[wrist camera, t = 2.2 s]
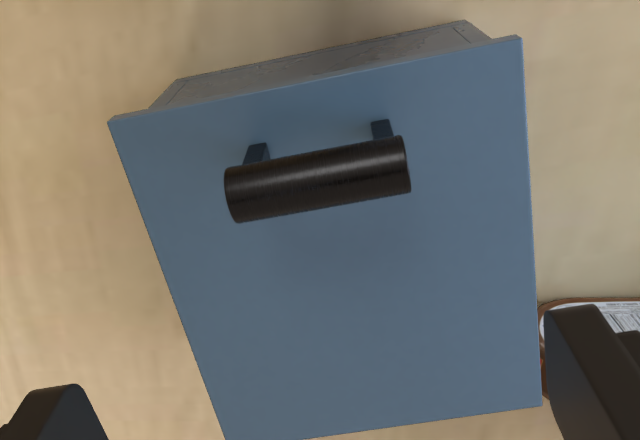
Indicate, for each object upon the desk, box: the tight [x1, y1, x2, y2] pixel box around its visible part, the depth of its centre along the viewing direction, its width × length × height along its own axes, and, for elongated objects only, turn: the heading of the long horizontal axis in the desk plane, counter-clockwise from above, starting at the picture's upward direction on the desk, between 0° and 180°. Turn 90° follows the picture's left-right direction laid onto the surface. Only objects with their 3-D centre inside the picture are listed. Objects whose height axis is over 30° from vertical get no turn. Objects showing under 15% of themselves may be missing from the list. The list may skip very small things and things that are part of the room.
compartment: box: [148, 20, 491, 109], centre depth 29 cm, size 16×15×9 cm
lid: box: [107, 35, 542, 440], centre depth 23 cm, size 17×15×5 cm
